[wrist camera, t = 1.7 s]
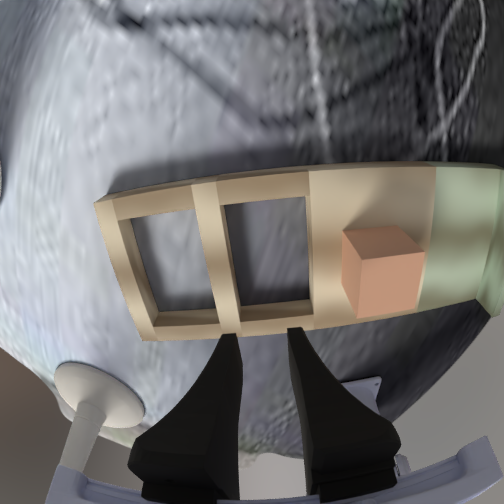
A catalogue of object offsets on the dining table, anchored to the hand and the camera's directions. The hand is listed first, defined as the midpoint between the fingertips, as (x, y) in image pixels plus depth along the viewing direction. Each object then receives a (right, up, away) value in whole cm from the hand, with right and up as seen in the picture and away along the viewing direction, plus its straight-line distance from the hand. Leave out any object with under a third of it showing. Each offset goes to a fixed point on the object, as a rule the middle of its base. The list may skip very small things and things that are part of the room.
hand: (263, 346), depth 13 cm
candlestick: (-20, -14, +18) cm, 30 cm away
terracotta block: (+7, +4, +6) cm, 11 cm away
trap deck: (+5, +5, +8) cm, 11 cm away
